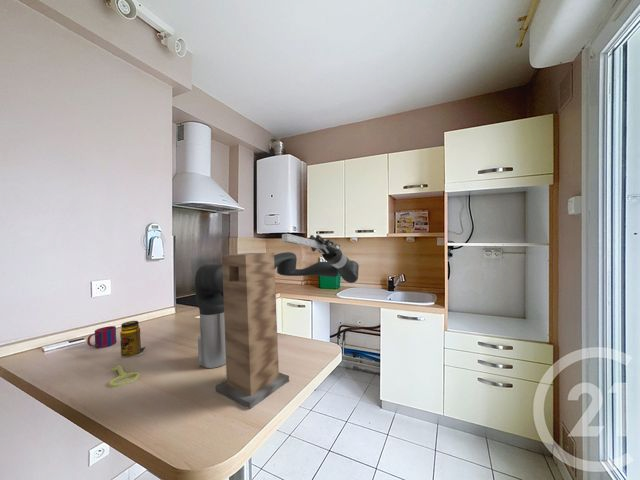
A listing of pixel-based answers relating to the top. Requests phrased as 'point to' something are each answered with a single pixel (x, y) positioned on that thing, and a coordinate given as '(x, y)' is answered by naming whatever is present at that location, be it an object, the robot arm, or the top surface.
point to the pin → (301, 241)
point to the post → (250, 328)
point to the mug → (104, 337)
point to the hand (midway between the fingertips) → (313, 237)
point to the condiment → (130, 340)
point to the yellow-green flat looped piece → (122, 377)
